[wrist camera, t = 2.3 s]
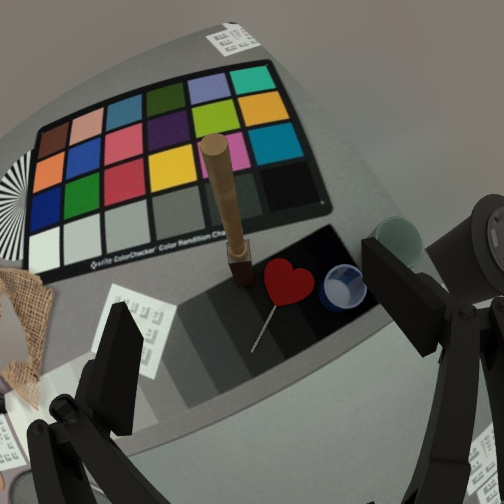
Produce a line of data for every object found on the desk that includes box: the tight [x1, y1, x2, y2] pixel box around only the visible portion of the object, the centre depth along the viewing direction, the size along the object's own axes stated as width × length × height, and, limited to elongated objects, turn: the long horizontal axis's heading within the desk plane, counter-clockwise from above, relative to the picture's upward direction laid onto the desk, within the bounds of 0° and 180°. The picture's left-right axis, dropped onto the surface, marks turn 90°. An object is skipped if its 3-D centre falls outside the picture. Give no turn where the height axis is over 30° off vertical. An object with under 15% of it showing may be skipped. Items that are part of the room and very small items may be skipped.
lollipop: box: [251, 258, 315, 353], centre depth 47 cm, size 8×1×15 cm
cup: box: [361, 216, 424, 269], centre depth 45 cm, size 8×8×10 cm
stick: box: [200, 133, 247, 260], centre depth 26 cm, size 2×2×20 cm
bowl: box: [318, 264, 367, 312], centre depth 46 cm, size 6×6×5 cm
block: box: [226, 239, 254, 287], centre depth 43 cm, size 3×3×14 cm
